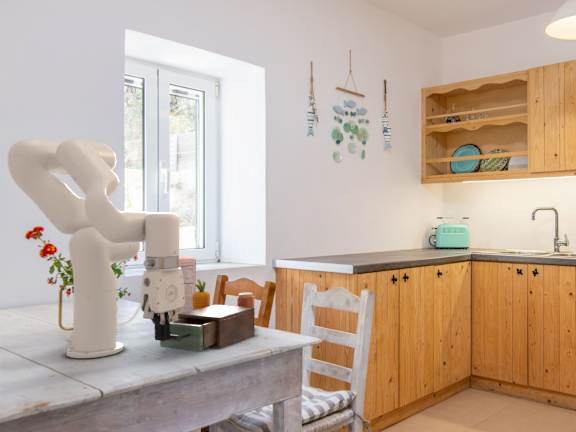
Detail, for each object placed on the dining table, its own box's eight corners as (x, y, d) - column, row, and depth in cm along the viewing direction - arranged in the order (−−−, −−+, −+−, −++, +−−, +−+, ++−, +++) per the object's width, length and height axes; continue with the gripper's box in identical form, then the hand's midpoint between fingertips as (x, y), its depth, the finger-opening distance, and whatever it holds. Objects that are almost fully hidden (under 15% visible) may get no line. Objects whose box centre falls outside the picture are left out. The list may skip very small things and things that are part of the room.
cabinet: (219, 348, 137) (219, 317, 136) (177, 344, 141) (177, 313, 141) (254, 335, 151) (254, 307, 151) (215, 331, 156) (215, 304, 156)
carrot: (210, 330, 158) (210, 280, 158) (192, 331, 156) (192, 281, 156) (209, 326, 162) (209, 278, 162) (192, 328, 161) (192, 279, 160)
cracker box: (161, 320, 172) (161, 256, 171) (179, 317, 176) (179, 255, 175) (177, 327, 161) (177, 259, 161) (196, 324, 165) (196, 258, 165)
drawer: (186, 356, 126) (186, 330, 126) (145, 351, 130) (145, 326, 130) (235, 338, 144) (235, 315, 144) (198, 334, 148) (198, 312, 148)
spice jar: (233, 331, 157) (233, 294, 157) (243, 327, 162) (243, 291, 162) (247, 332, 155) (247, 295, 155) (257, 328, 160) (257, 292, 160)
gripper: (150, 267, 118) (150, 348, 118) (196, 261, 132) (196, 334, 132) (125, 266, 121) (125, 345, 121) (173, 260, 135) (173, 332, 135)
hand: (162, 339), depth 127 cm, fingers closed
